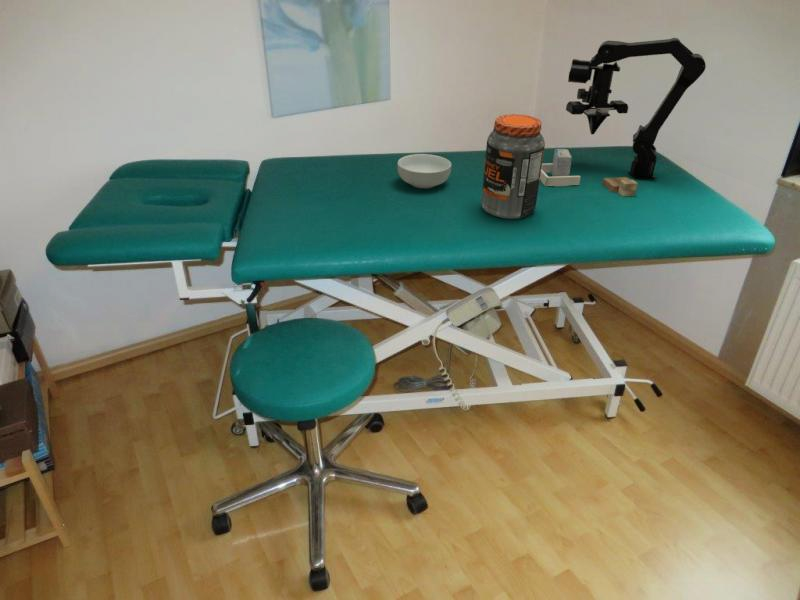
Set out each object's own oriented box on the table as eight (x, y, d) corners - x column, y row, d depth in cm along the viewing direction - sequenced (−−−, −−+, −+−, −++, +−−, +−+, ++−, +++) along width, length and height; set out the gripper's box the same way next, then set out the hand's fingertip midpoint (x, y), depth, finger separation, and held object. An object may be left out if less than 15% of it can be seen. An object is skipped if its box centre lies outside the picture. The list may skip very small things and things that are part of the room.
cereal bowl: (421, 198, 181) (422, 176, 177) (386, 182, 191) (386, 161, 188) (461, 185, 190) (462, 163, 187) (425, 170, 201) (426, 150, 197)
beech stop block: (630, 192, 187) (633, 179, 185) (634, 195, 185) (637, 183, 182) (618, 192, 187) (620, 180, 185) (622, 196, 184) (625, 183, 182)
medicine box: (568, 183, 193) (572, 157, 188) (553, 182, 193) (558, 156, 188) (564, 174, 199) (568, 149, 195) (550, 174, 200) (554, 148, 195)
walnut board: (625, 184, 194) (626, 177, 193) (635, 192, 188) (637, 185, 187) (601, 185, 193) (603, 178, 192) (611, 193, 187) (613, 186, 186)
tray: (564, 171, 202) (566, 162, 200) (579, 185, 191) (580, 176, 190) (533, 172, 200) (534, 163, 199) (545, 186, 190) (547, 177, 188)
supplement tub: (470, 203, 178) (477, 115, 164) (516, 195, 184) (526, 109, 170) (498, 224, 166) (508, 131, 152) (546, 215, 171) (560, 124, 158)
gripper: (618, 78, 197) (608, 126, 205) (563, 79, 195) (556, 127, 203) (633, 86, 188) (623, 136, 196) (576, 87, 186) (568, 137, 194)
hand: (592, 133), depth 198 cm, fingers closed
